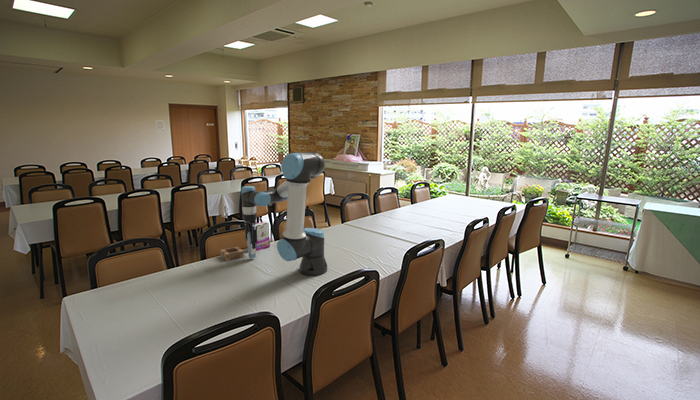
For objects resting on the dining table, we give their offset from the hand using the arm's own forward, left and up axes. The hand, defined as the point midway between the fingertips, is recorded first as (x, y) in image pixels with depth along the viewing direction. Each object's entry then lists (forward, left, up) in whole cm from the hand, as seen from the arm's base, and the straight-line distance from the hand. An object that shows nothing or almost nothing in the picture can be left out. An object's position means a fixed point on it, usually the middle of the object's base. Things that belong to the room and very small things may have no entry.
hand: (252, 252), depth 200 cm
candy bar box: (+16, -12, -5) cm, 20 cm away
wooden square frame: (+11, +8, -4) cm, 14 cm away
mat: (+11, +7, -5) cm, 13 cm away
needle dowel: (0, 0, -3) cm, 3 cm away
